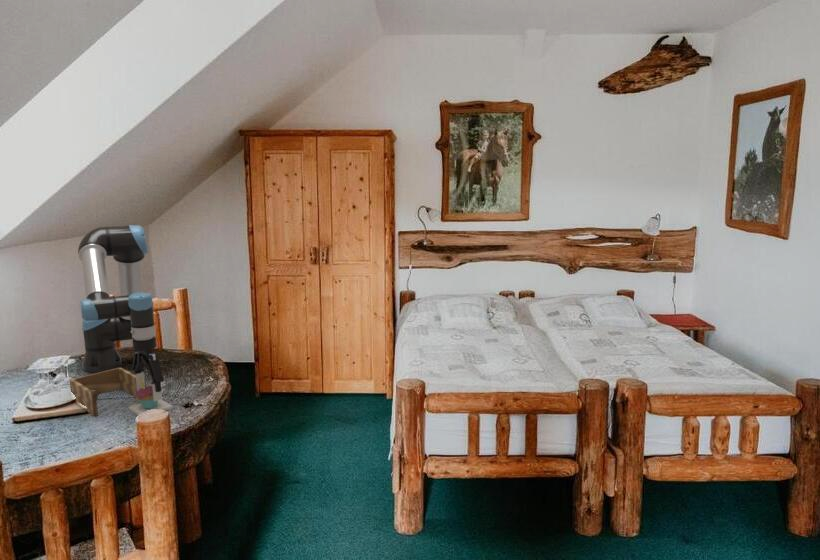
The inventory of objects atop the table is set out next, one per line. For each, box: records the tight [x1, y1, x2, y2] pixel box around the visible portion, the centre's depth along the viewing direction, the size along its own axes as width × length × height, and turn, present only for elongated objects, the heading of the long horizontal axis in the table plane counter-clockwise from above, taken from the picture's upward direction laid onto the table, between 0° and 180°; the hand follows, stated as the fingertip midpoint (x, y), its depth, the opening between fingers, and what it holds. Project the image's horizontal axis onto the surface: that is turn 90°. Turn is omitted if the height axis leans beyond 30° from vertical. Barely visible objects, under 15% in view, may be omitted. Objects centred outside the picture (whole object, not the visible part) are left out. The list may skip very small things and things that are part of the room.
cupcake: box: [134, 377, 158, 409], centre depth 215 cm, size 9×8×12 cm
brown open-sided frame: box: [69, 366, 147, 418], centre depth 223 cm, size 22×18×9 cm
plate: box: [128, 399, 174, 416], centre depth 216 cm, size 11×11×1 cm
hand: (149, 395), depth 215 cm, fingers open, 13 cm apart
